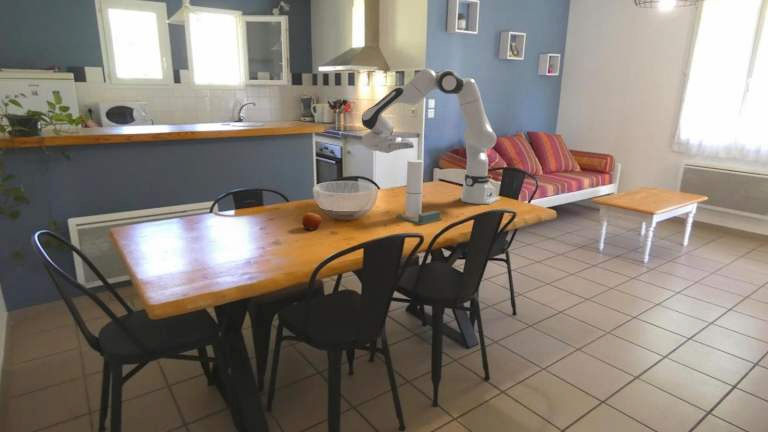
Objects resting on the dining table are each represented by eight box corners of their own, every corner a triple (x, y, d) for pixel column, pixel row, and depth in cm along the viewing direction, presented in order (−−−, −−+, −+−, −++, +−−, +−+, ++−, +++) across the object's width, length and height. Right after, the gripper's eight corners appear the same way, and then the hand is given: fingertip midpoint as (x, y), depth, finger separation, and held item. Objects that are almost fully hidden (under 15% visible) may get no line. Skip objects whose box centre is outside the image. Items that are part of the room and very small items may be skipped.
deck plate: (415, 212, 220) (415, 204, 219) (441, 220, 208) (441, 211, 207) (395, 216, 212) (395, 208, 210) (421, 225, 200) (421, 216, 199)
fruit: (296, 228, 187) (300, 209, 189) (304, 232, 194) (309, 214, 196) (313, 230, 184) (318, 211, 186) (321, 235, 192) (325, 217, 194)
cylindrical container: (421, 213, 214) (423, 159, 207) (420, 217, 207) (423, 162, 201) (406, 212, 215) (408, 159, 208) (405, 216, 208) (407, 161, 201)
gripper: (370, 138, 222) (390, 141, 212) (401, 136, 235) (420, 139, 226) (370, 151, 224) (389, 155, 214) (400, 148, 237) (420, 152, 227)
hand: (406, 147), depth 220 cm, fingers open, 8 cm apart
